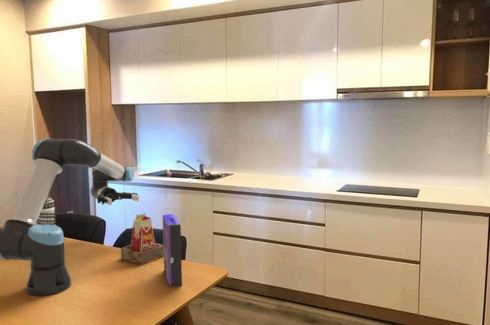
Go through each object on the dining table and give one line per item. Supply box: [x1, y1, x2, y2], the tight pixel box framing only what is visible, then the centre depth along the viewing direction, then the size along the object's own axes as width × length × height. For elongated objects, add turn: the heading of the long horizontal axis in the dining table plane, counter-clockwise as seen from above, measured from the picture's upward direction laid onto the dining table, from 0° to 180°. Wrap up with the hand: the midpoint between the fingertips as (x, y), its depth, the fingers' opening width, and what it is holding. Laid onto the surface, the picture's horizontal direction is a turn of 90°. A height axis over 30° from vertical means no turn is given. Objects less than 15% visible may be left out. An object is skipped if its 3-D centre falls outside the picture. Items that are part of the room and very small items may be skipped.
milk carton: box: [130, 212, 156, 253], centre depth 184 cm, size 9×9×20 cm
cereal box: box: [162, 213, 183, 288], centre depth 160 cm, size 17×5×24 cm, turn 18°
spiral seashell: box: [36, 197, 57, 226], centre depth 197 cm, size 9×9×25 cm
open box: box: [120, 242, 164, 265], centre depth 184 cm, size 14×14×5 cm
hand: (124, 200), depth 190 cm, fingers open, 13 cm apart
